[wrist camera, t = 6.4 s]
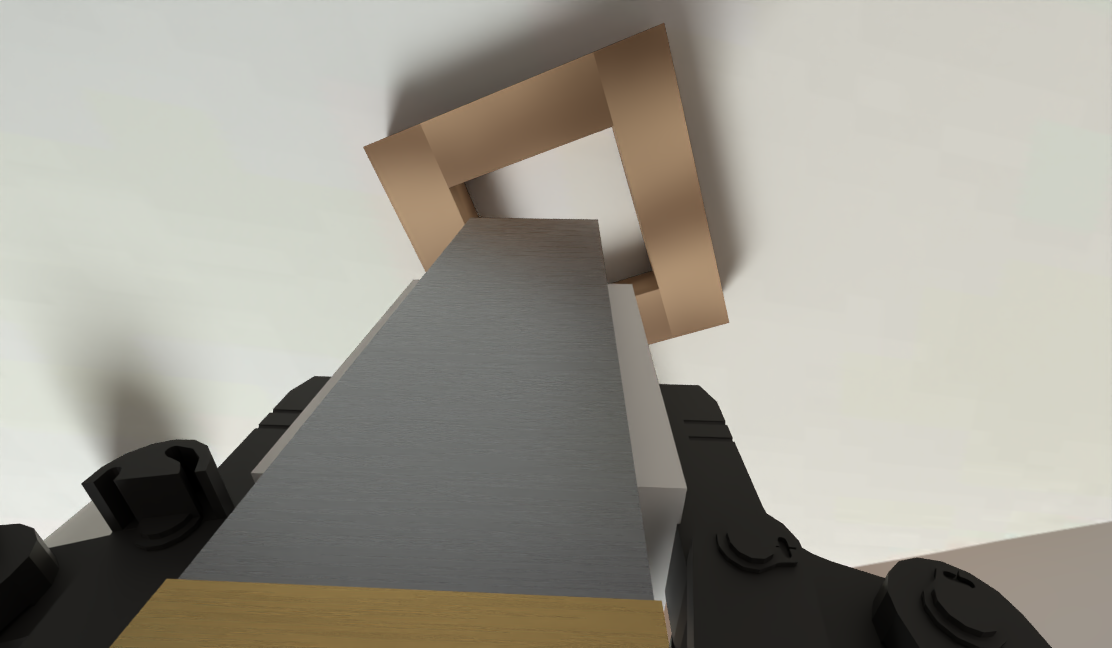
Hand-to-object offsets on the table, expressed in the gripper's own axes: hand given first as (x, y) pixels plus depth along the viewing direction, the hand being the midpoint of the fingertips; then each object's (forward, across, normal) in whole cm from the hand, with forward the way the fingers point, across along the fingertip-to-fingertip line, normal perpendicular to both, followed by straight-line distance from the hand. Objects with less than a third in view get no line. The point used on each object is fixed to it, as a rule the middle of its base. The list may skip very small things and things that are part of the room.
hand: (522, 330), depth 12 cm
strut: (+4, 0, 0) cm, 4 cm away
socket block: (+12, +1, -1) cm, 12 cm away
